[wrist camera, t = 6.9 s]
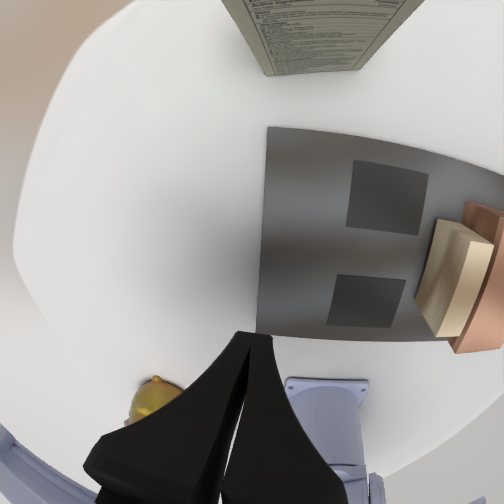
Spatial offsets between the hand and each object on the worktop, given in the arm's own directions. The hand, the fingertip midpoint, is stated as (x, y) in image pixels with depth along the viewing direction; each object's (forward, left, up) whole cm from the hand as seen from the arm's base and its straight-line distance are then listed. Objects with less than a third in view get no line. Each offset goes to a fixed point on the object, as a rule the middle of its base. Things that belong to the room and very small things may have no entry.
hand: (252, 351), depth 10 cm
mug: (-20, +12, -10) cm, 25 cm away
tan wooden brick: (+2, -20, -7) cm, 22 cm away
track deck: (+2, -15, -9) cm, 18 cm away
